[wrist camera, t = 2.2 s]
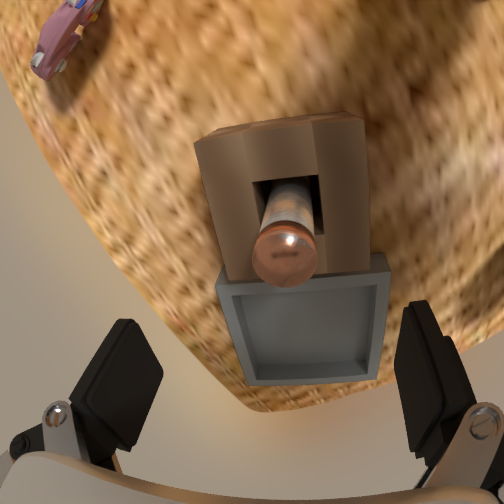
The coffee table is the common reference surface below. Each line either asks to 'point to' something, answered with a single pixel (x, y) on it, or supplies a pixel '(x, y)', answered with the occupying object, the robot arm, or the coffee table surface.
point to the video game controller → (62, 35)
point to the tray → (309, 326)
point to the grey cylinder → (287, 235)
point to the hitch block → (283, 166)
